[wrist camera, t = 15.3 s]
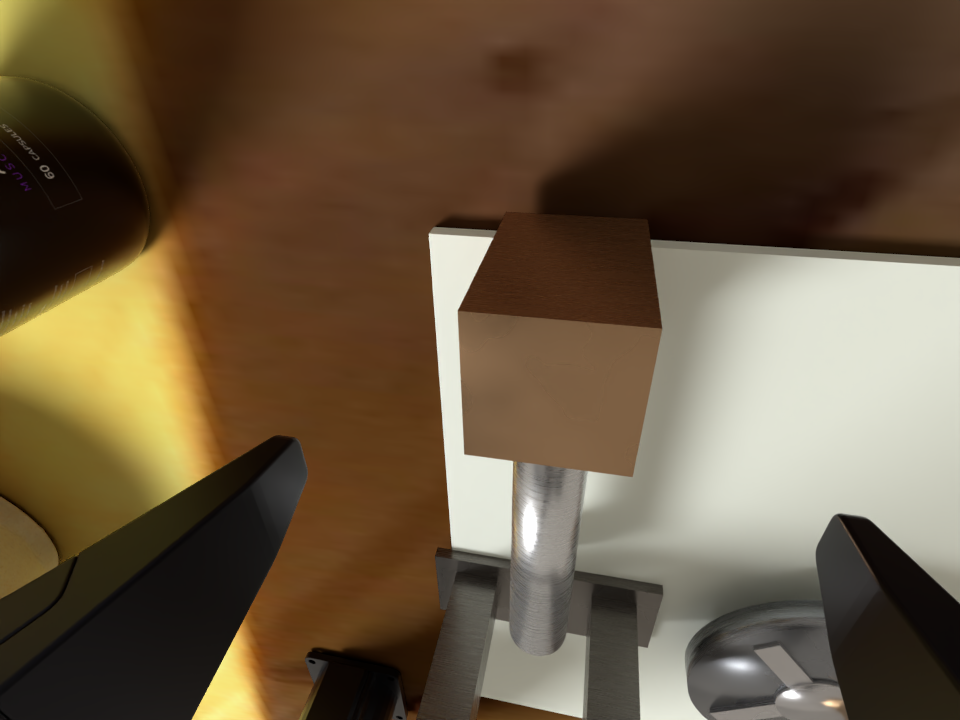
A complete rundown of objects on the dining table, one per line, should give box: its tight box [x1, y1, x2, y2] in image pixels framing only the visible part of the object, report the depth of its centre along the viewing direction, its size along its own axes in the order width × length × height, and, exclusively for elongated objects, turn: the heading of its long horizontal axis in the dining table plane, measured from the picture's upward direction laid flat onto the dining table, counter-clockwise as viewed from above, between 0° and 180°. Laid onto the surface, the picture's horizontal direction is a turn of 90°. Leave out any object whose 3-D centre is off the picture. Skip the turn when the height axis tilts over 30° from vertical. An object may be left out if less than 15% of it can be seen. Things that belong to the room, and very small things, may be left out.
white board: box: [429, 227, 960, 720], centre depth 23 cm, size 30×27×2 cm
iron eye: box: [416, 548, 663, 720], centre depth 23 cm, size 4×10×8 cm, turn 91°
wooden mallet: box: [458, 212, 662, 656], centre depth 17 cm, size 15×4×6 cm, turn 1°
